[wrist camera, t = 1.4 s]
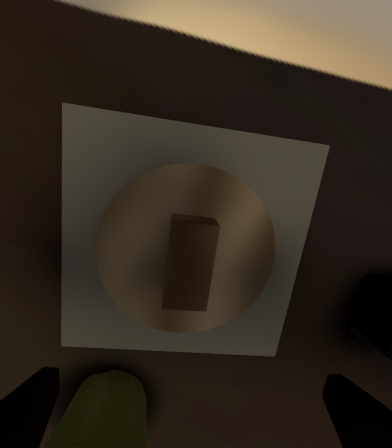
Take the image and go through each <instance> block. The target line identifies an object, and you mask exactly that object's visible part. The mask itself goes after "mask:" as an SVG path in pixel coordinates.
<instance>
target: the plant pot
mask: <svg viewBox="0 0 392 448" xmlns="http://www.w3.org/2000/svg"><path fill="white" fill-rule="evenodd" d="M44 448H147V421H146V394H145V391H144V388H143V385H142V383H141V382H140V381H139V380H138V379H137V378H136V377H135V376H133V375H131V374H129V373H127V372H124V371H119V370H110V371H108V372H105V373H100V374H93V375H91V376H90V377H88V378H87V379H86V380H85V381H84V382H83V383H82V384H81V386H80V387H79V389H78V391H77V393H76V394H75V396H74V397H73V399H72V401H71V403H70V404H69V406H68V408H67V410H66V412H65V413H64V415H63V417H62V418H61V420H60V422H59V423H58V425H57V427H56V428H55V430H54V432H53V434H52V435H51V437H50V439H49V440H48V442H47V444H46V445H45V447H44Z"/></svg>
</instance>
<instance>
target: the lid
mask: <svg viewBox="0 0 392 448" xmlns="http://www.w3.org/2000/svg"><path fill="white" fill-rule="evenodd" d="M274 258H275V234H274V229H273V225H272V221H271V219H270V216H269V214H268V211H267V209H266V208H265V206H264V204H263V203H262V201H261V200H260V198H259V197H258V196H257V195H256V193H255V192H254V191H253V190H252V189H251V188H250V187H249V186H247V185H246V184H245V183H244V182H242V181H241V180H240V179H238V178H237V177H235V176H233V175H231V174H230V173H228V172H226V171H223V170H220V169H218V168H215V167H212V166H207V165H202V164H193V163H180V164H172V165H167V166H162V167H159V168H156V169H153V170H150V171H148V172H147V173H145V174H143V175H141V176H139V177H137V178H136V179H134V180H133V181H131V182H130V183H128V184H127V185H126V186H125V187H124V188H123V189H122V190H121V191H120V192H118V194H117V195H116V196H115V197H114V198H113V200H112V201H111V202H110V204H109V205H108V207H107V209H106V210H105V212H104V214H103V216H102V219H101V221H100V223H99V227H98V230H97V234H96V242H95V260H96V265H97V270H98V273H99V276H100V279H101V282H102V284H103V286H104V288H105V290H106V291H107V293H108V294H109V296H110V297H111V299H112V300H113V301H114V302H115V303H116V304H117V305H118V307H119V308H121V309H122V310H123V311H124V312H125V313H126V314H127V315H129V316H130V317H132V318H133V319H135V320H137V321H139V322H140V323H142V324H144V325H147V326H149V327H152V328H155V329H159V330H163V331H167V332H176V333H190V332H199V331H203V330H208V329H211V328H214V327H217V326H220V325H222V324H224V323H226V322H228V321H230V320H232V319H233V318H235V317H237V316H238V315H240V314H241V313H242V312H243V311H245V310H246V309H247V308H248V307H249V306H250V305H251V304H252V303H253V302H254V301H255V300H256V298H257V297H258V296H259V295H260V293H261V292H262V290H263V288H264V287H265V285H266V283H267V281H268V279H269V276H270V274H271V271H272V267H273V264H274Z"/></svg>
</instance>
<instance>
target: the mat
mask: <svg viewBox="0 0 392 448" xmlns="http://www.w3.org/2000/svg"><path fill="white" fill-rule="evenodd" d="M329 147H330V146H329V145H323V144H317V143H311V142H304V141H298V140H292V139H286V138H279V137H273V136H267V135H261V134H254V133H248V132H242V131H236V130H229V129H223V128H217V127H211V126H204V125H198V124H192V123H186V122H179V121H173V120H167V119H161V118H154V117H148V116H142V115H135V114H129V113H123V112H117V111H110V110H104V109H98V108H92V107H85V106H79V105H73V104H67V103H62V313H61V346H70V347H91V348H112V349H132V350H153V351H173V352H194V353H215V354H235V355H256V356H275V355H276V351H277V347H278V343H279V340H280V336H281V332H282V328H283V324H284V320H285V316H286V313H287V309H288V305H289V301H290V297H291V293H292V289H293V286H294V282H295V278H296V274H297V270H298V266H299V262H300V259H301V255H302V251H303V247H304V243H305V239H306V236H307V232H308V228H309V224H310V220H311V216H312V212H313V209H314V205H315V201H316V197H317V193H318V189H319V185H320V182H321V178H322V174H323V170H324V166H325V162H326V158H327V155H328V151H329ZM180 163H193V164H202V165H207V166H212V167H215V168H218V169H220V170H223V171H226V172H228V173H230V174H231V175H233V176H235V177H237V178H238V179H240V180H241V181H242V182H244V183H245V184H246V185H247V186H249V187H250V188H251V189H252V190H253V191H254V192H255V193H256V195H257V196H258V197H259V198H260V200H261V201H262V203H263V204H264V206H265V208H266V209H267V211H268V214H269V216H270V219H271V221H272V225H273V229H274V234H275V258H274V264H273V267H272V271H271V274H270V276H269V279H268V281H267V283H266V285H265V287H264V288H263V290H262V292H261V293H260V295H259V296H258V297H257V298H256V300H255V301H254V302H253V303H252V304H251V305H250V306H249V307H248V308H247V309H246V310H245V311H243V312H242V313H241V314H240V315H238V316H237V317H235V318H233V319H232V320H230V321H228V322H226V323H224V324H222V325H220V326H217V327H214V328H211V329H208V330H203V331H199V332H190V333H176V332H167V331H163V330H159V329H155V328H152V327H149V326H147V325H144V324H142V323H140V322H139V321H137V320H135V319H133V318H132V317H130V316H129V315H127V314H126V313H125V312H124V311H123V310H122V309H121V308H119V307H118V305H117V304H116V303H115V302H114V301H113V300H112V299H111V297H110V296H109V294H108V293H107V291H106V290H105V288H104V286H103V284H102V282H101V279H100V276H99V273H98V270H97V265H96V260H95V242H96V234H97V230H98V227H99V223H100V221H101V219H102V216H103V214H104V212H105V210H106V209H107V207H108V205H109V204H110V202H111V201H112V200H113V198H114V197H115V196H116V195H117V194H118V192H120V191H121V190H122V189H123V188H124V187H125V186H126V185H127V184H128V183H130V182H131V181H133V180H134V179H136V178H137V177H139V176H141V175H143V174H145V173H147V172H148V171H150V170H153V169H156V168H159V167H162V166H167V165H172V164H180Z"/></svg>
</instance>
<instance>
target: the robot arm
mask: <svg viewBox="0 0 392 448" xmlns="http://www.w3.org/2000/svg"><path fill="white" fill-rule="evenodd" d="M371 280H372V281H371ZM370 281H371V282H370ZM346 336H347V338H348V339H349V340H351V341H362V342H371V343H372V344H373V345H374V346H376V347H377V348H378V349H379V350H380V351H381V352H382V353H383V354H384V355H385V356H386V357H388V358H390V359H391V360H392V277H391V276H380V275H367V276H366V277H365V278H364V281H363V284H362V287H361V290H360V293H359V296H358V299H357V302H356V305H355V308H354V311H353V314H352V317H351V320H350V323H349V326H348V329H347V332H346ZM58 394H59V369H58V367H43V368H42V369H40V370H39V371H38V372H36V373H35V374H34V375H33V376H31V377H30V378H29V379H28V380H26V381H25V382H24V383H23V384H21V385H20V386H19V387H17V388H16V389H15V390H14V391H12V392H11V393H10V394H9V395H7V396H6V397H5V398H4V399H2V400H1V401H0V448H39V446H40V443H41V441H42V438H43V435H44V432H45V430H46V427H47V424H48V422H49V419H50V416H51V413H52V411H53V408H54V405H55V402H56V400H57V397H58ZM322 395H323V400H324V403H325V405H326V408H327V410H328V412H329V415H330V417H331V420H332V422H333V425H334V427H335V430H336V432H337V435H338V437H339V440H340V442H341V445H342V447H343V448H392V410H390V409H389V408H387V407H386V406H385V405H383V404H382V403H380V402H379V401H378V400H376V399H375V398H374V397H372V396H371V395H369V394H368V393H367V392H365V391H364V390H362V389H361V388H360V387H358V386H357V385H355V384H354V383H353V382H351V381H350V380H348V379H347V378H346V377H344V376H343V375H341V374H329V375H328V376H327V378H326V382H325V385H324V388H323V393H322Z"/></svg>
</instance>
